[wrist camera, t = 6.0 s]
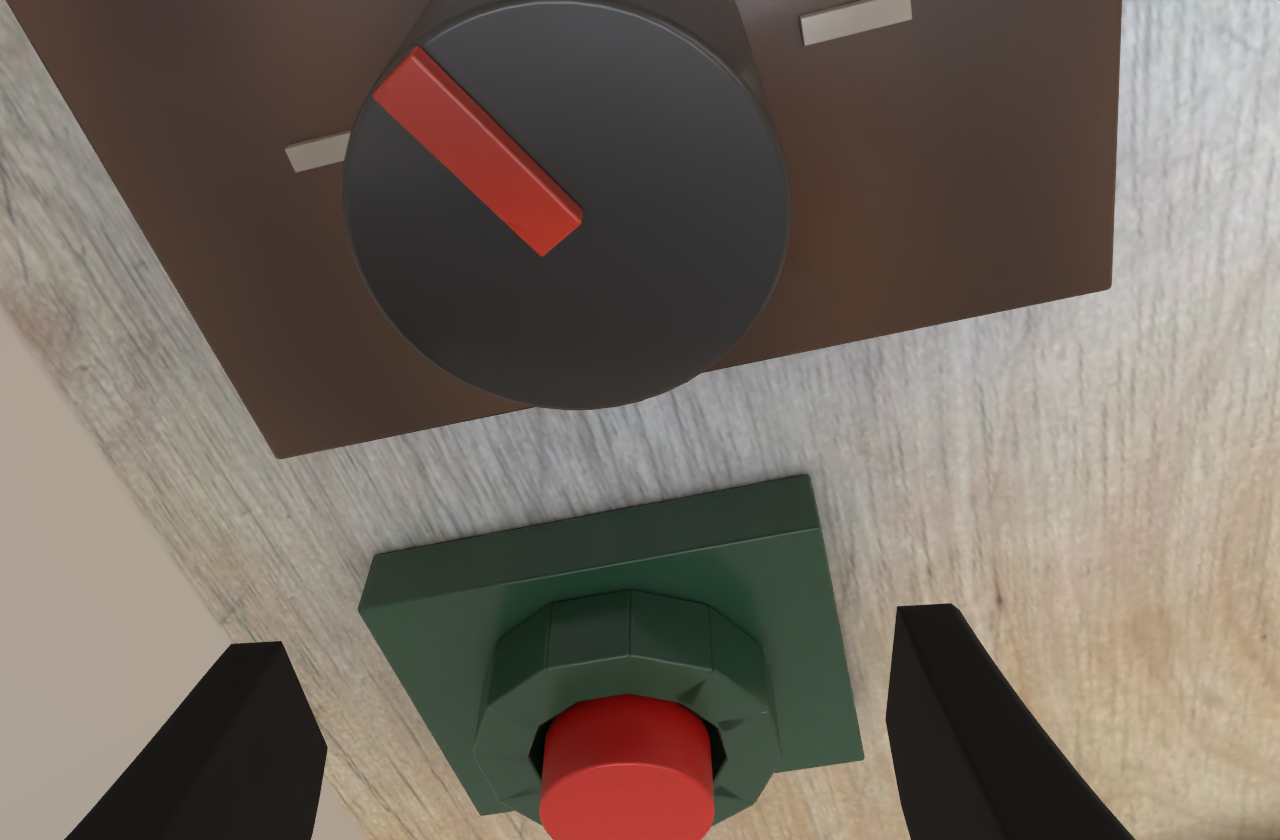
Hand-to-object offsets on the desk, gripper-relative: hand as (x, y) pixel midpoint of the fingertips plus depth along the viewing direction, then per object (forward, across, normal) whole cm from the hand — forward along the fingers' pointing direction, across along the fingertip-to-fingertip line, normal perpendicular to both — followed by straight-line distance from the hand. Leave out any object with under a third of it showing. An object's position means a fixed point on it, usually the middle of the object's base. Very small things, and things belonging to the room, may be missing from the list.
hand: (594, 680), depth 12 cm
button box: (+9, 0, +9) cm, 13 cm away
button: (+6, 0, +9) cm, 11 cm away
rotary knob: (+6, 0, -5) cm, 8 cm away
